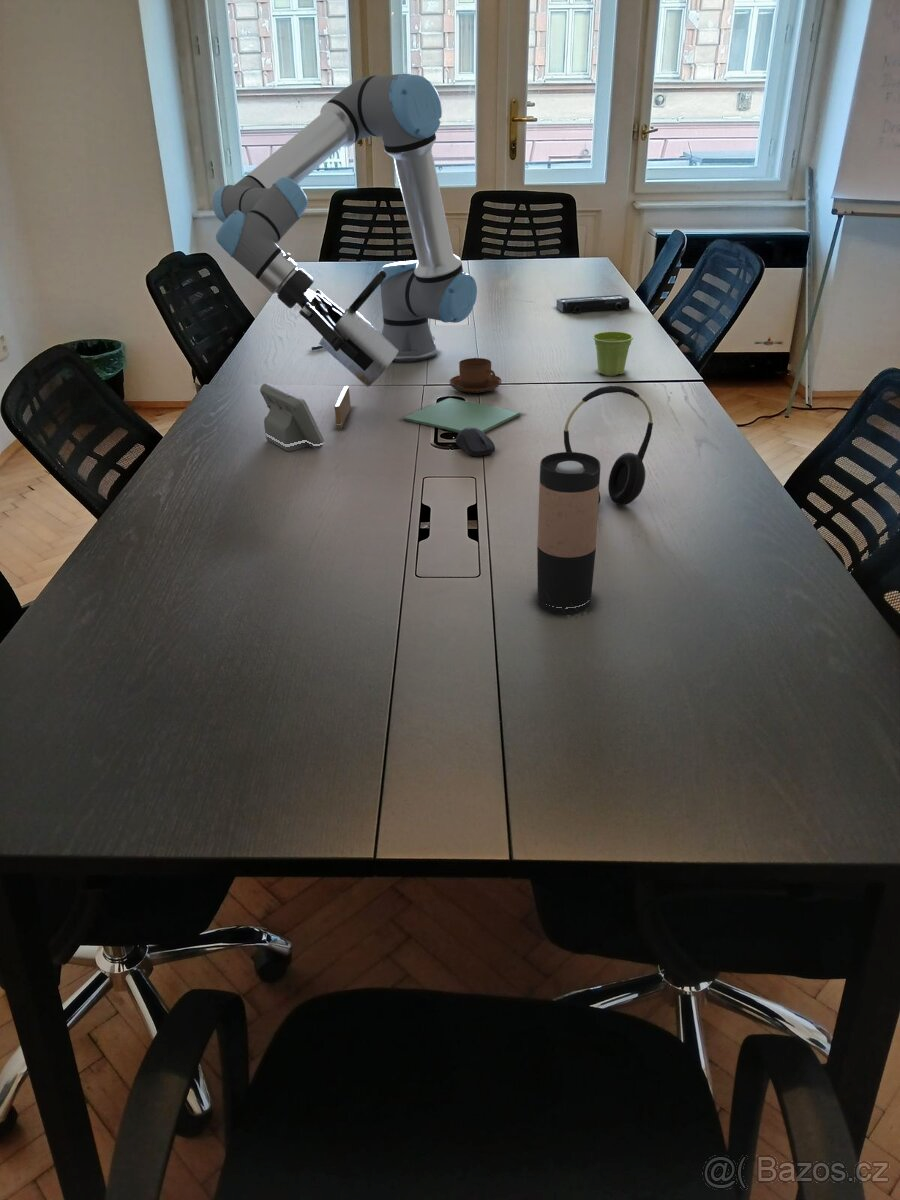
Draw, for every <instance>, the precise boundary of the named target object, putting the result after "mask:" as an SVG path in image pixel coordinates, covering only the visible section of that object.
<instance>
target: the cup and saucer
mask: <svg viewBox="0 0 900 1200" xmlns="http://www.w3.org/2000/svg"><path fill="white" fill-rule="evenodd" d="M458 369H459V370H458V371H459V375H456V376H453V377H451V378H450V379H449V385H450V386H451V387H452V388H453V389H455V390H457V391H459V392H463V393H472V394H473V393H475V394H478V393H486V392H491V391H493V390H495V389H497V388H498V387H499V386H500V385H501V384H502V378H501V377H500V376H498V375H496V373H495V371H494V370H493V369H492V361H491V360H490V359H487V358H483V357H471V358H464V359H462V360H460V361H459V362H458Z"/></svg>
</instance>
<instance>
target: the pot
mask: <svg viewBox="0 0 900 1200" xmlns="http://www.w3.org/2000/svg"><path fill="white" fill-rule="evenodd" d="M385 277H386V272H385V271H383V270H381V269H380V270H379V271H378V273H377V274H376V275H375V276H374V277H373V278H372V279H371V281H370V282H369V283H368V285H367V286H365V288H364V289H363V290H362V292H361V293H359V295H358V296H357V297H356V298H355V300H354V301H353V302H352V304H350V305H349V306H348V307H347V308H346V309H345V310H344V312H343V313H342V315H341V316H340V317H339V318H338V319H337V321H336V322H335V326H336V327H337V328H338V329H339V330H340V331H341V332H342V333H343V334H344V336H345V337H346V338H347V340H348V339H349V338H350V339H351V340H352V341H353V342H354V343H355V344H356V345H357V346H358V347H360V348H361V349H362V350H363V351H364V352H365V353H366V354H367V355H368V356H369V357H370V358H372V359H373V360H374V361H373V363H372V364H371V365H370V366H369V367H368V368H367V369H366V370H365V371H364V370H363V369H362V368H361V367H359V366H358V365H357V364H356V363H355V362H354V361H353V360H352V359H351V358H349V357H348V356H347V355H346V354H345V353H344V352H343V351H342V350H341V349H339V350H338V351H335V350H334V348H333V347H332V346H331V345H330V344H329V343H328V342H327V341H326V340H325V338H324V337H323V336H322V338H321V339H320V341H319V342H318V345H319V346H320V345H321V346H322V347H323V348H322V349H324V350H325V351H326V352H327V353H328V354H329V355H330V356H332V357H333V358H334V359H335V360H336V361H337V362H338V363H339V364H341V365H342V366H343V367H344V368H345V369H346V370H348V371H349V372H350V373H351V374H352V375H353V376H354V377H356V378H357V380H359V381H360V382H361V383H362V384H363V385H365V386H366V387H367V388H369V387H370V386H371V385H372V384H373V383H375V382H376V381H377V380H378V379H379V378H380V377H381V375H382V374H383V373H384V372H385V371H386V370H387V368H388V367H389V366H390V364H392V362H394V361H393V359H394V358H395V356H396V355H397V353H398V351H399V349H397V348H396V347H395V346H394V345H393V344H392V343H391V342H390V341H389V340H388V339H387V338H385V337H384V336H383V335H382V332H380V331H379V330H378V329H377V328H376V327H374V325H373V324H372V323H371V322H370V321H369V320H367V319H366V318H365V317H364V316H363V315H362V314H361V313H360V312H358V310H360V308H361V307H362V306H363V304H365V302H366V301H367V300H368V299H369V298H370V297H371V295H372V294H373V293H374V292H375V290H376V289H377V288H378V287H379V286H381V285H380V283H381V282H382V281H383V280H384V279H385Z"/></svg>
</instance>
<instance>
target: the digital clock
mask: <svg viewBox="0 0 900 1200" xmlns="http://www.w3.org/2000/svg"><path fill="white" fill-rule="evenodd" d="M259 392H260V394H261V396H262V398H263V401H264V402H265V404H266V407H267V408H268V409H269V411H268V413H267V415H266V416H265V417H264V419H263V424H264V425H263V426H264V433H265V434H266V433H267V434H268V435H270V436H272V437H274V438H275V439H277V440H279V441H280V442H283V443H284V444H290V443H294V442H298V441H302V440H307V441H309V442H311V443H313V444H320V443H323V442H324V443H325V439H324V437H323V435H322V432H321V431H320V429H319V426H318V424H317V422H316V421H315V418H314V416H313V414H312V412H311V410H310V408H309V406H308V404H307V402H306V400H305V399H304V398H302V397H301V396H298V395H296V394H294V393H291V392H289V391H287V390H285V389H283V388H280V387H279V386H278V385H277V386H276V385H275V384H272V383H263V384H262V385H261V386H260V389H259ZM265 438H266V441H268V442H270V443H272V444H273V445H275V446H276V447H279V448H281V449H283V450H284V451H286V452H292V451H296V450H300V449H304V448H307V447H311V448H313V449H321V448H323V447H324V444H323V445H320V446H313V445H312V444H309V443H307V442H305V443H301V444H297V445H294V446H290V447H285V446H283V445H281V444H280V443H278V442H276V441H274V440H272V439H271V438H269V437H267V436H266V435H265Z"/></svg>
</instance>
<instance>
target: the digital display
mask: <svg viewBox="0 0 900 1200" xmlns="http://www.w3.org/2000/svg"><path fill="white" fill-rule="evenodd" d="M630 302H631V301H630V298H628V297H627V296H625V295H623V294H609V295H593V296H579V297H565V298H564V297H563V298H556V305H555V308H556V309H558V310H559V311H561V312H562V313H575V314H579V313H580V312H589V311H591V312H592V311H605V310H616V311H621V310H622V309H629V308H630Z"/></svg>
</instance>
